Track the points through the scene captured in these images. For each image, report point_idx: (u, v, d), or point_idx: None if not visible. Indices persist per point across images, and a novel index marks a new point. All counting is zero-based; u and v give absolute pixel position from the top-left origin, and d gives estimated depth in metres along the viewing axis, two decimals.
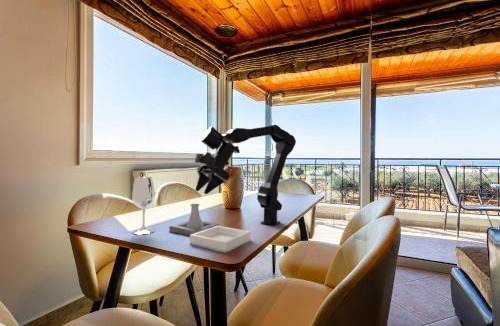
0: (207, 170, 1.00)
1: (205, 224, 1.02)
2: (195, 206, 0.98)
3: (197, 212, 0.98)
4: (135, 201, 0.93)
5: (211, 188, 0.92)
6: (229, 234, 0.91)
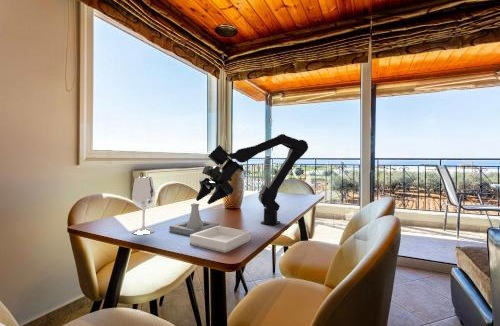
0: (210, 183, 1.06)
1: (205, 224, 1.02)
2: (195, 206, 0.98)
3: (197, 212, 0.98)
4: (135, 201, 0.93)
5: (214, 199, 0.98)
6: (229, 234, 0.91)
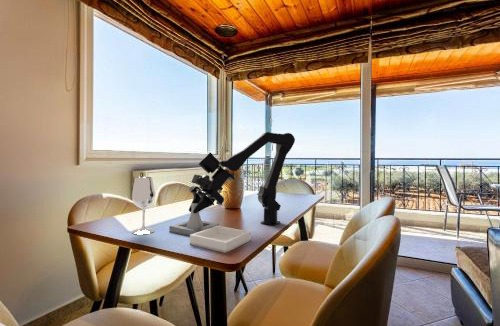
0: (200, 192, 1.03)
1: (205, 224, 1.02)
2: (195, 206, 0.98)
3: (197, 212, 0.98)
4: (135, 201, 0.93)
5: (200, 208, 0.97)
6: (229, 234, 0.91)
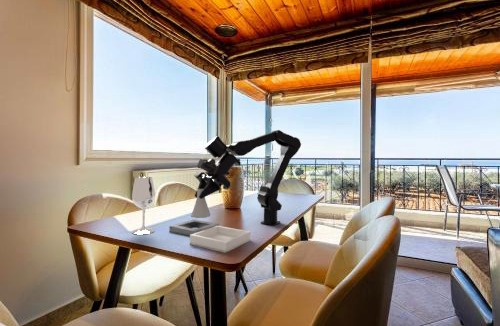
0: (206, 177, 1.00)
1: (205, 224, 1.02)
2: (201, 191, 0.95)
3: None
4: (135, 201, 0.93)
5: (206, 193, 0.94)
6: (229, 234, 0.91)
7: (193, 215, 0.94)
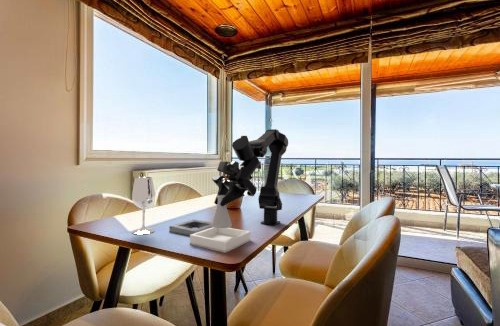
0: (226, 181, 0.90)
1: (205, 224, 1.02)
2: (222, 198, 0.84)
3: (224, 205, 0.84)
4: (135, 201, 0.93)
5: (228, 200, 0.84)
6: (229, 234, 0.91)
7: (213, 225, 0.83)
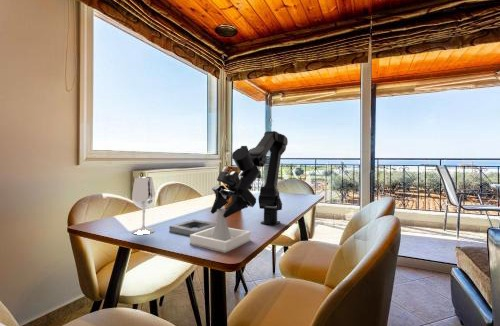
0: (226, 191, 0.90)
1: (205, 224, 1.02)
2: (222, 212, 0.84)
3: (224, 219, 0.84)
4: (135, 201, 0.93)
5: (231, 212, 0.82)
6: None
7: None
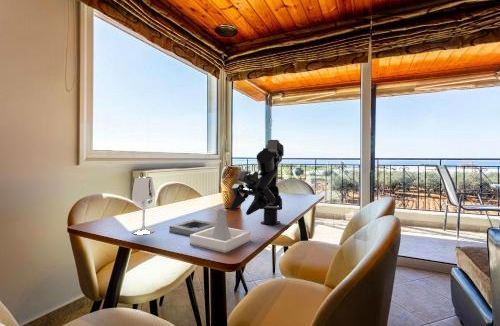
0: (245, 190, 0.95)
1: (205, 224, 1.02)
2: (222, 212, 0.84)
3: (224, 219, 0.84)
4: (135, 201, 0.93)
5: (254, 209, 0.87)
6: None
7: None
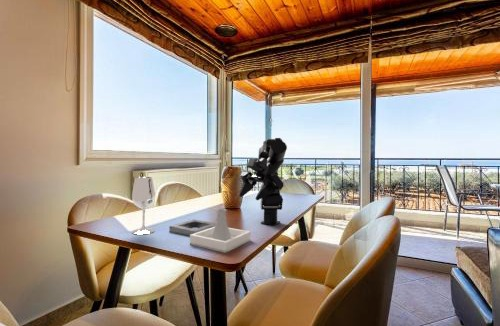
0: (254, 177, 0.98)
1: (205, 224, 1.02)
2: (222, 212, 0.84)
3: (224, 219, 0.84)
4: (135, 201, 0.93)
5: (263, 195, 0.89)
6: None
7: None
